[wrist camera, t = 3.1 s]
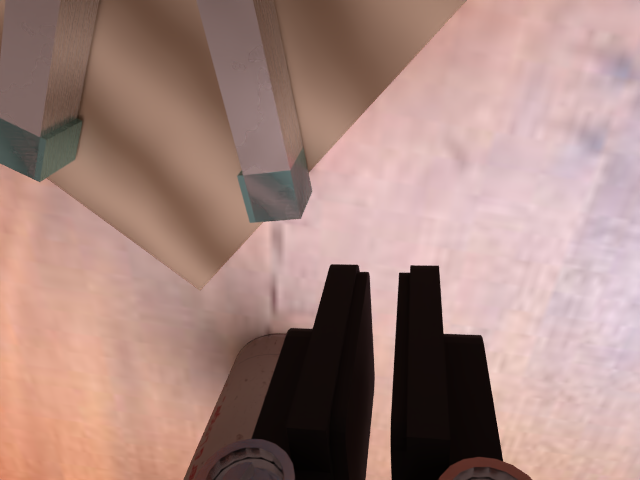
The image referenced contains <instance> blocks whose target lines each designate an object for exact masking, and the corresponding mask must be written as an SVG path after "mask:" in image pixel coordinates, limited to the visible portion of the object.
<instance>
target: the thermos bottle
mask: <svg viewBox="0 0 640 480" xmlns="http://www.w3.org/2000/svg"><path fill="white" fill-rule="evenodd" d="M285 337H286V334H273V335H266V336H263V337H260V338H257V339H255V340H253V341H251V342H250V343H248V344H247V345H246V346H245V347H244V348H243V349H242V350H241V351H240V353H239V354H238V356H237V358H236V360H235V362H234V365H233V367H232V369H231V371H230V374H229V376H228V378H227V381H226V383H225V385H224V387H223V390H222V392H221V394H220V397H219V399H218V401H217V403H216V406H215V408H214V410H213V413H212V415H211V417H210V419H209V422H208V424H207V426H206V429H205V431H204V433H203V436H202V438H201V440H200V442H199V445H198V447H197V449H196V452H195V454H194V456H193V458H192V461H191V463H190V465H189V468H188V470H187V473H186V475H185V477H184V480H194V479H195V477H196V475H197V474H198V472H199V470H200V469H201V468H202V466H203V465H204V463H205V462H206V461H207V459H208V458H210V457H211V456H212V455H213V454H214V453H216V452H217V451H218V450H219V449H221V448H223V447H225V446H227V445H229V444H231V443H233V442H237V441H241V440H246V439H251V438H252V435H253V432H254V429H255V426H256V423H257V420H258V417H259V414H260V411H261V408H262V405H263V402H264V399H265V396H266V393H267V390H268V387H269V384H270V381H271V379H272V376H273V373H274V370H275V367H276V364H277V361H278V358H279V355H280V352H281V349H282V346H283V343H284V340H285Z"/></svg>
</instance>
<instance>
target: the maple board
mask: <svg viewBox="0 0 640 480" xmlns="http://www.w3.org/2000/svg"><path fill="white" fill-rule="evenodd" d="M466 1H467V0H274V4H275V9H276V14H277V19H278V24H279V29H280V34H281V39H282V44H283V49H284V54H285V59H286V64H287V69H288V74H289V79H290V84H291V89H292V94H293V98H294V103H295V108H296V113H297V118H298V123H299V128H300V133H301V138H302V143H303V148H304V153H305V158H306V163H307V168H308V173H309V171H310V170H311V169H312V168H313V167H314V166H315V165H316V164H317V163H318V162H319V161H320V159H321V158H322V157H323V156H324V155H325V154H326V153H327V152H328V151H329V150H330V149H331V148H332V146H333V145H334V144H335V143H336V142H337V141H338V140H339V139H340V138H341V137H342V136H343V134H344V133H345V132H346V131H347V130H348V129H349V128H350V127H351V126H352V125H353V124H354V122H355V121H356V120H357V119H358V118H359V117H360V116H361V115H362V114H363V113H364V112H365V111H366V109H367V108H368V107H369V106H370V105H371V104H372V103H373V102H374V101H375V100H376V99H377V97H378V96H379V95H380V94H381V93H382V92H383V91H384V90H385V89H386V88H387V87H388V85H389V84H390V83H391V82H392V81H393V80H394V79H395V78H396V77H397V76H398V75H399V74H400V72H401V71H402V70H403V69H404V68H405V67H406V66H407V65H408V64H409V63H410V62H411V60H412V59H413V58H414V57H415V56H416V55H417V54H418V53H419V52H420V51H421V50H422V48H423V47H424V46H425V45H426V44H427V43H428V42H429V41H430V40H431V39H432V38H433V37H434V35H435V34H436V33H437V32H438V31H439V30H440V29H441V28H442V27H443V26H444V25H445V23H446V22H447V21H448V20H449V19H450V18H451V17H452V16H453V15H454V14H455V13H456V11H457V10H458V9H459V8H460V7H461V6H462V5H463V4H464V3H465V2H466ZM4 12H5V0H0V56H1V45H2V34H3V23H4ZM77 118H78V119H80V120H82V121H83V122H82V127H81V132H80V137H79V142H78V147H77V153H76V158H75V160H74V161H72V162H71V163H69V164H68V165H66V166H64V167H63V168H61V169H60V170H58V171H56V172H55V173H53V174H52V175H50V176H49V177H47V179H48V180H50V181H51V182H53V183H54V184H55V185H57V186H58V187H59V188H61V189H62V190H63V191H65V192H66V193H68V194H69V195H70V196H72V197H73V198H74V199H76V200H77V201H78V202H80V203H81V204H83V205H84V206H85V207H87V208H88V209H89V210H91V211H92V212H93V213H95V214H96V215H98V216H99V217H100V218H102V219H103V220H104V221H106V222H107V223H108V224H110V225H111V226H113V227H114V228H115V229H117V230H118V231H119V232H121V233H122V234H123V235H125V236H126V237H128V238H129V239H130V240H132V241H133V242H134V243H136V244H137V245H138V246H140V247H141V248H143V249H144V250H145V251H147V252H148V253H149V254H151V255H152V256H153V257H155V258H156V259H158V260H159V261H160V262H162V263H163V264H164V265H166V266H167V267H168V268H170V269H171V270H173V271H174V272H175V273H177V274H178V275H179V276H181V277H182V278H183V279H185V280H186V281H188V282H189V283H190V284H192V285H193V286H194V287H196V288H197V289H198V290H201V289H202V288H203V287H204V286H205V285H206V284H207V282H208V281H209V280H210V279H211V278H212V277H213V276H214V275H215V274H216V273H217V272H218V271H219V269H220V268H221V267H222V266H223V265H224V264H225V263H226V262H227V261H228V260H229V259H230V257H231V256H232V255H233V254H234V253H235V252H236V251H237V250H238V249H239V248H240V247H241V245H242V244H243V243H244V242H245V241H246V240H247V239H248V238H249V237H250V236H251V235H252V233H253V232H254V231H255V230H256V229H257V228H258V227H259V226H260V225H261V224H262V223H263V222H255V223H250V222H249V218H248V214H247V211H246V207H245V204H244V200H243V196H242V193H241V189H240V185H239V182H238V178H237V175H238V174H239V173H240V171H241V170H242V169H241V165H240V162H239V158H238V154H237V150H236V147H235V143H234V139H233V136H232V132H231V128H230V124H229V121H228V117H227V113H226V109H225V106H224V102H223V98H222V95H221V91H220V87H219V83H218V80H217V76H216V72H215V68H214V65H213V61H212V57H211V54H210V50H209V46H208V42H207V39H206V35H205V31H204V27H203V24H202V20H201V16H200V13H199V9H198V5H197V1H196V0H99V4H98V10H97V15H96V20H95V26H94V31H93V36H92V42H91V47H90V52H89V58H88V63H87V69H86V74H85V79H84V85H83V90H82V95H81V101H80V106H79V111H78V117H77Z"/></svg>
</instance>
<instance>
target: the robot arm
mask: <svg viewBox="0 0 640 480" xmlns="http://www.w3.org/2000/svg"><path fill="white" fill-rule="evenodd" d="M374 381H375V373H374V353H373V333H372V314H371V294H370V276H369V272H360V271H359V266H358V265H335V264H332V265H330V268H329V271H328V275H327V279H326V282H325V286H324V290H323V293H322V297H321V301H320V304H319V308H318V312H317V315H316V319H315V323H314V326H313V329H298V328H290V329H289V330H288V332H287V334H286V337H285V340H284V343H283V346H282V349H281V352H280V355H279V358H278V361H277V364H276V367H275V370H274V373H273V376H272V379H271V381H270V384H269V387H268V390H267V393H266V396H265V399H264V402H263V405H262V408H261V411H260V414H259V417H258V420H257V423H256V426H255V429H254V432H253V435H252V438H251V439H246V440H241V441H237V442H233V443H231V444H229V445H227V446H225V447H223V448H221V449H219V450H218V451H217V452H216V453H214V454H213V455H212V456H211V457H210V458H208V459H207V461H206V462H205V463H204V465H203V466H202V468H201V469H200V470H199V472H198V474H197V475H196V477H195V479H194V480H365V478H366V468H367V458H368V447H369V437H370V427H371V417H372V406H373V396H374ZM391 473H392V480H532V479H531V478H530V477H529V476H528V475H527V474H525V473H524V472H522V471H521V470H519V469H518V468H516V467H515V466H513V465H511V464H508V463H506V462H503V458H502V451H501V445H500V439H499V433H498V427H497V421H496V415H495V409H494V403H493V397H492V391H491V385H490V379H489V373H488V366H487V360H486V354H485V348H484V343H483V338H482V336H481V335H459V334H443V320H442V305H441V289H440V274H439V266H414V265H411V266H410V273H399V286H398V304H397V321H396V339H395V357H394V375H393V393H392V411H391Z"/></svg>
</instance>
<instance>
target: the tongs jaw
mask: <svg viewBox="0 0 640 480" xmlns="http://www.w3.org/2000/svg"><path fill="white" fill-rule="evenodd" d="M196 1H197V5H198V9H199V13H200V16H201V20H202V24H203V27H204V31H205V35H206V39H207V42H208V46H209V50H210V54H211V57H212V61H213V65H214V68H215V72H216V76H217V80H218V83H219V87H220V91H221V95H222V98H223V102H224V106H225V109H226V113H227V117H228V121H229V124H230V128H231V132H232V136H233V139H234V143H235V147H236V150H237V154H238V158H239V162H240V165H241V169H242V170H241V171H240V173H239V174H238V175H237V178H238V182H239V185H240V189H241V193H242V196H243V200H244V204H245V207H246V211H247V214H248V218H249V222H250V223H255V222H266V221H278V220H290V219H301V217H302V214H303V212H304V210H305V207H306V205H307V203H308V200H309V198H310V196H311V193H312V188H311V183H310V178H309V173H308V168H307V163H306V158H305V153H304V148H303V143H302V138H301V133H300V128H299V123H298V118H297V113H296V108H295V103H294V98H293V94H292V89H291V84H290V79H289V74H288V69H287V64H286V59H285V54H284V49H283V44H282V39H281V34H280V29H279V24H278V19H277V14H276V9H275V4H274V0H196Z"/></svg>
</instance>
